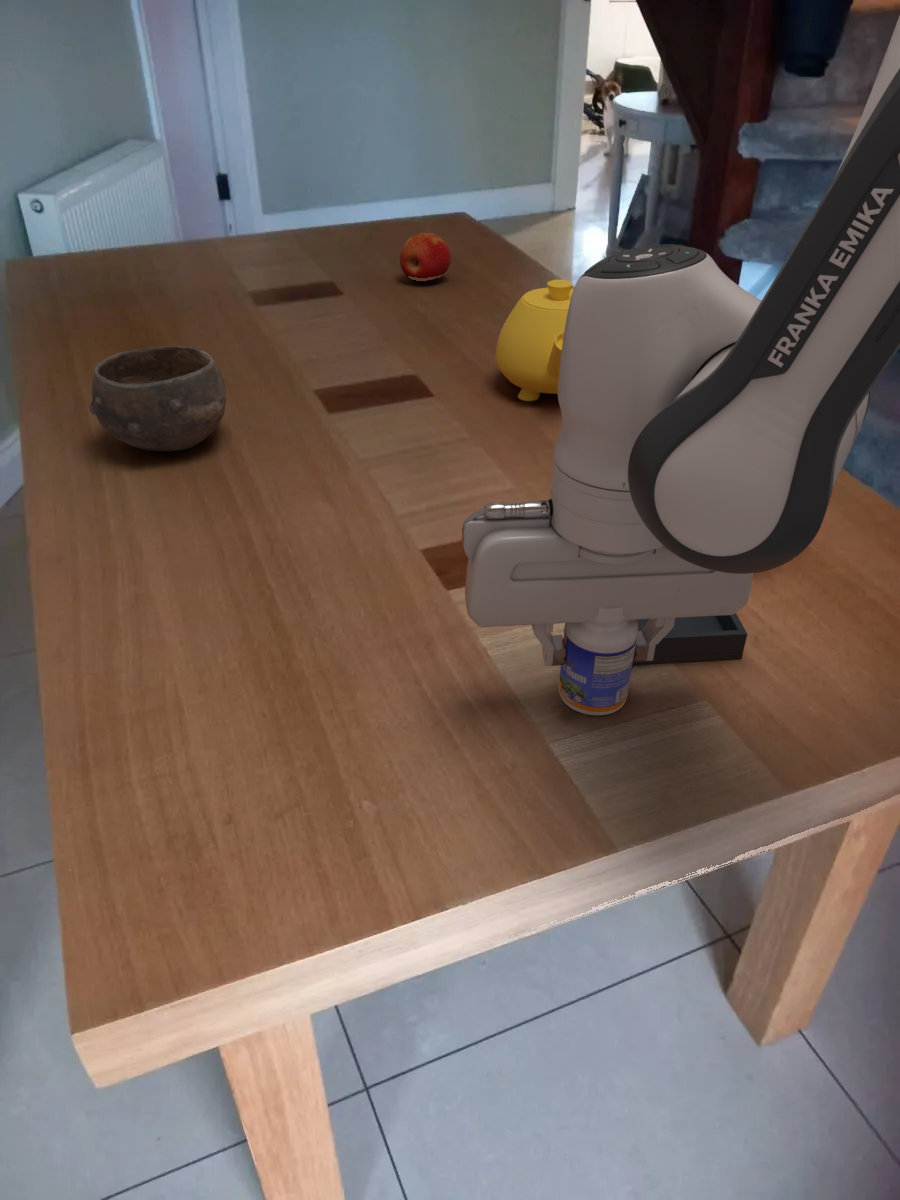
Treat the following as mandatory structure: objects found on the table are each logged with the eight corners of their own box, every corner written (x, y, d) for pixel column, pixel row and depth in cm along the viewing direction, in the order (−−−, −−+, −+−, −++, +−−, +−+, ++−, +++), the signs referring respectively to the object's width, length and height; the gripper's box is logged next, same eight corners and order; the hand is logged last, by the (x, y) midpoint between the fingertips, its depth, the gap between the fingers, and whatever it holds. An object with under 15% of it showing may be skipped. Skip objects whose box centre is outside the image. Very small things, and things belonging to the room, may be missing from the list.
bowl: (240, 460, 105) (227, 376, 99) (99, 480, 101) (77, 394, 95) (226, 412, 116) (214, 334, 110) (98, 428, 112) (78, 348, 106)
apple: (457, 281, 161) (457, 233, 156) (424, 292, 156) (424, 243, 151) (424, 272, 165) (423, 225, 160) (391, 282, 160) (389, 234, 155)
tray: (561, 501, 97) (562, 479, 95) (656, 497, 98) (659, 475, 96) (619, 665, 75) (623, 640, 73) (742, 658, 75) (747, 633, 74)
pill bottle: (547, 679, 73) (555, 579, 68) (609, 666, 75) (622, 566, 69) (575, 724, 69) (585, 621, 63) (640, 710, 70) (656, 607, 65)
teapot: (622, 427, 112) (635, 314, 104) (494, 425, 112) (497, 313, 104) (606, 365, 128) (616, 264, 120) (494, 364, 129) (497, 263, 121)
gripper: (466, 529, 59) (465, 693, 67) (779, 515, 60) (740, 678, 68) (458, 482, 64) (457, 639, 72) (746, 471, 65) (714, 627, 73)
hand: (597, 658), depth 70 cm, fingers closed on pill bottle, 5 cm apart
